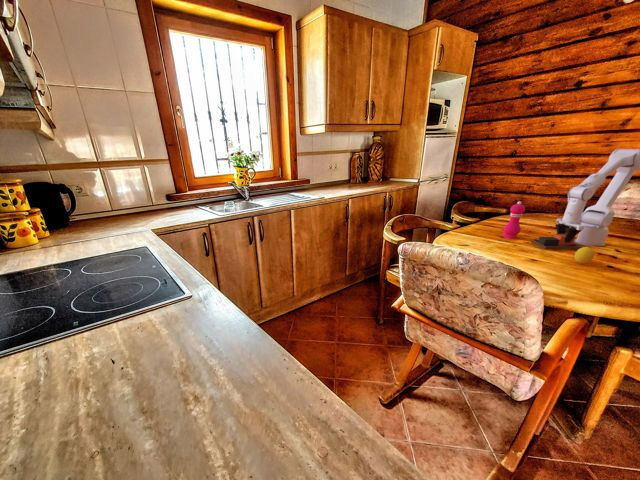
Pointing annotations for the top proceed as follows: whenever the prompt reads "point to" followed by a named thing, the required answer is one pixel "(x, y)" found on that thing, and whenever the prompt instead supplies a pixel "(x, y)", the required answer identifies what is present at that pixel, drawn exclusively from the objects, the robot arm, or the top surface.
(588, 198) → the robot arm
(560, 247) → the backing tray
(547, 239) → the pad
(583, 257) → the lemon
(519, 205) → the pepper mill
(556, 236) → the pad
